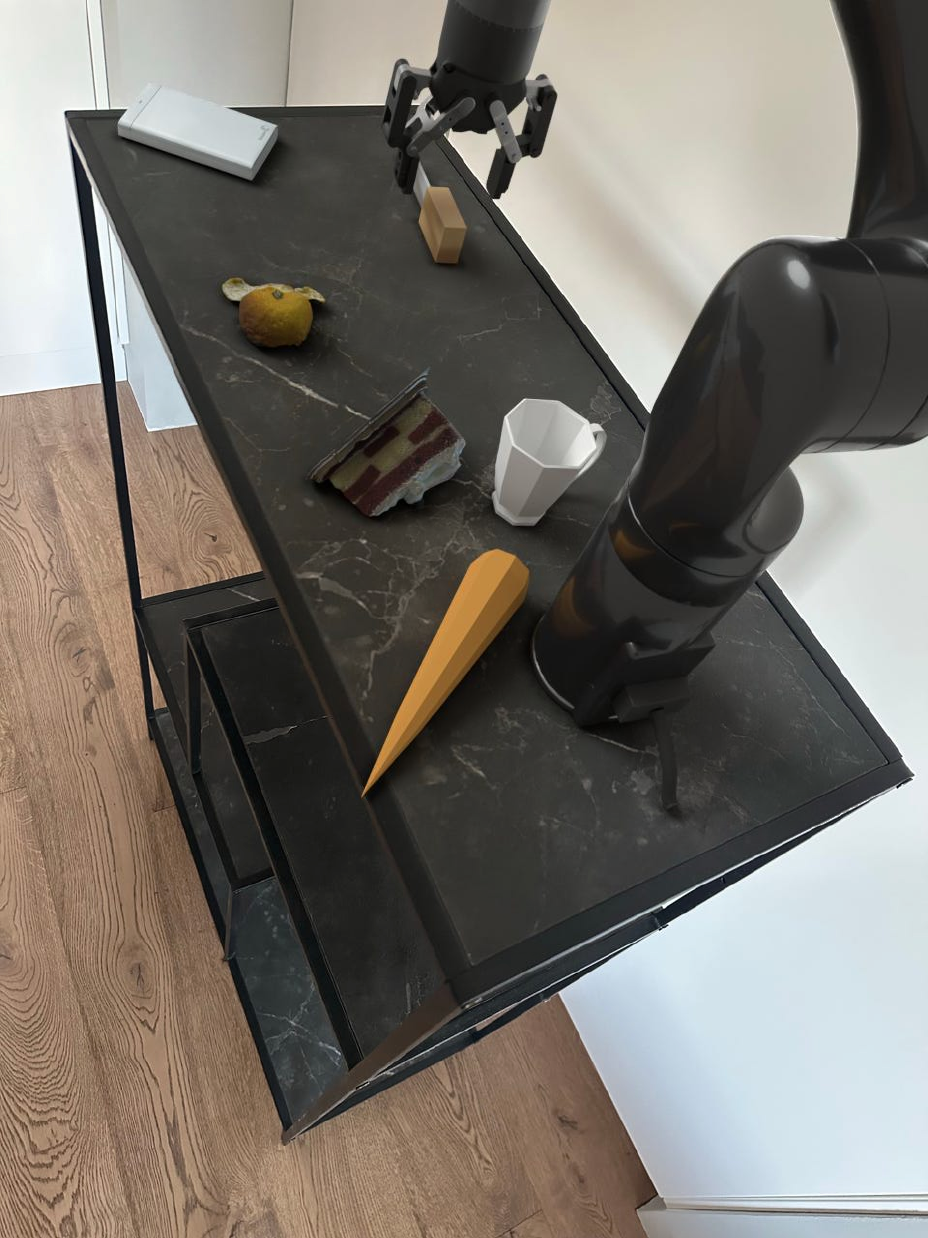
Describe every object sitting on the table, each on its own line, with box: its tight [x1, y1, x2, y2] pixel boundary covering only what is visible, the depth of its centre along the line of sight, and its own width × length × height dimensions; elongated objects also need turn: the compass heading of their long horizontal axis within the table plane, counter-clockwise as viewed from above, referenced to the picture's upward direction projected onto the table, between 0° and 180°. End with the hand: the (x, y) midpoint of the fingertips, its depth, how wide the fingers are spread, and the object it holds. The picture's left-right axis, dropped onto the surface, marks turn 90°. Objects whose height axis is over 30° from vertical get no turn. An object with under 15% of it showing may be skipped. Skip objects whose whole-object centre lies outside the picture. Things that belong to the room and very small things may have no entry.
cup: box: [491, 398, 608, 527], centre depth 67 cm, size 7×10×8 cm
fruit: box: [221, 277, 326, 348], centre depth 73 cm, size 8×8×4 cm
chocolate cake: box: [305, 365, 467, 517], centre depth 67 cm, size 10×7×12 cm
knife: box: [413, 160, 468, 264], centre depth 86 cm, size 16×2×4 cm, turn 18°
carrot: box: [361, 548, 530, 797], centre depth 59 cm, size 20×4×4 cm
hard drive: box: [117, 81, 279, 181], centre depth 84 cm, size 2×8×12 cm
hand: (449, 191), depth 81 cm, fingers open, 8 cm apart
